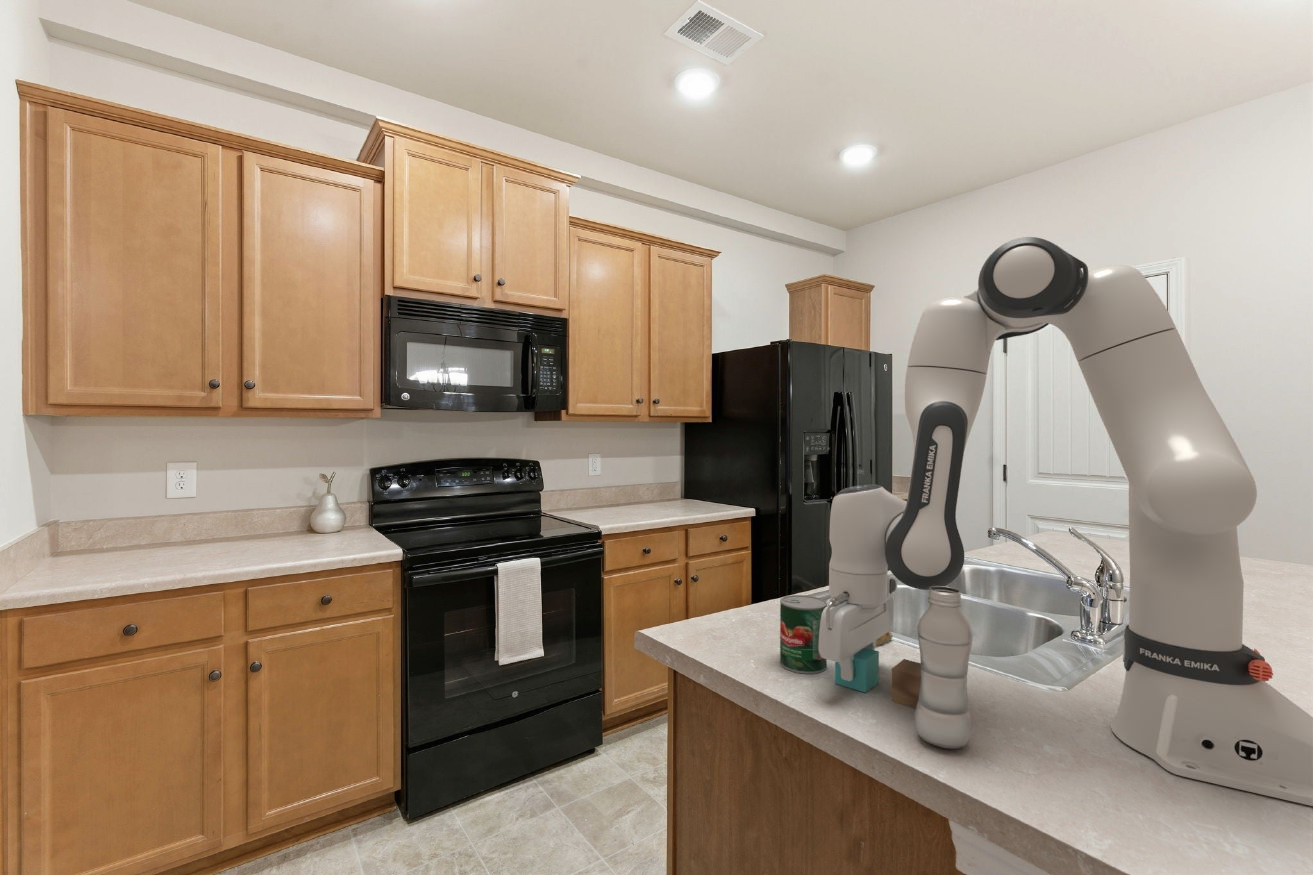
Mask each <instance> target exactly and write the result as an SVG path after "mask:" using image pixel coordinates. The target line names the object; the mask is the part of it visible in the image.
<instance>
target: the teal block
mask: <svg viewBox="0 0 1313 875" xmlns="http://www.w3.org/2000/svg"><path fill="white" fill-rule="evenodd" d="M879 654H880V652H879V651H878V650H871V649H867V648H863V649H861V650H860V651H858V652H857V653H855V654H854V659H853V660H852V663H853V667H854V668H856V673H855V674H856V677H855V678H854V679H853V680H852V681H847V680H843V679H842V678H841V667H840V665H839V662H835V661H834V662H835V663H834V683H835V684H837V685H840V686H843V687H846V688H848V689H851V690H852V689H853V690H856V691H859V692H862V693H867V692H868V691H870V690H872V689H873V687H875V686H876V685H877V684H879V682H880V681H879V678H880V677H879V673H880V672H879V668H880V665H879V664H880V663H879V662H880V659H879V658H880V657H879V656H880V655H879Z"/></svg>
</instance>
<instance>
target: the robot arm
mask: <svg viewBox="0 0 1313 875" xmlns="http://www.w3.org/2000/svg"><path fill="white" fill-rule="evenodd" d="M1088 268H1089V267H1088V265H1087V263H1086V262H1084V261H1083V260H1081V259H1079V258H1077V257H1076V256H1074V255H1072V254H1070V253H1069V252H1068V251H1066V250H1065V249H1064V248H1061V247H1060V246H1058V245H1057V244H1055V243H1054V242H1051V241H1050V240H1047V239H1044V238H1040V237H1036V236H1024V237H1019V238H1015V239H1012V240H1010V241H1008V242H1005V243H1003V244H1001V245H1000V246H999V247H998V248H997V249H995V250H994V251H993V252H992V253H991V254H990V255H989V256H988V257H987V259H986V260H985V261H984V263H983V265H982V267H981V268H980V272H979V275H978V283H977V286H978V288H977V290H974V291H973V292H972V293H971V294H968V295H964V296H948V297H944V298H940V299H937V300H935V301H933V302H931V303H929V304H928V305H927V306H926V307H925V309H924V310H923V312H922V314H921V316H920V318H919V322H918V324H917V327H916V330H915V331H914V332H915V333H914V336H913V339H912V341H911V342H912V343H911V346H910V351H909V356H908V360H907V366H906V372H905V380H904V408H905V414H906V417H907V420H908V423H909V427H910V430H911V434H912V440H913V460H912V465H911V466H912V467H911V470H910V471H911V472H910V473H911V474H910V477H909V478H910V479H909V480H910V481H909V485H908V493H907V497H906V498H907V500H905V499H901V497H899V496H896V495H895V494H892V493H891V492H890V491H888V490H886V489H885V488H884V487H883V486H882V485H879V484H874V483H873V484H872V483H871V484H859V485H854V486H849V487H846V488H843V489H841V490H840V491H839V492H837V493H836V495H835V496H834V497H833V499H832V503H831V508H830V513H829V514H830V515H829V536H828V537H829V543H830V547H831V557H830V560H829V562H828V563H829V564H828V567H829V568H828V569H829V571H828V574H829V575H828V595H829V597H830V598H831V599H829V604H828V605H827V607H826V608H825V609H824V610H823V612H822V615H821V621H820V631H819V646H818V649H819V653H820V656H821V657H822V658H824V659H827V661H831V662H839V665H840V667H841V678H842V679H843V680H847V681H852V680H853V679H854V678H855V677H856V674H855V673H856V668H854V667H853V663H852V660H853V659H854V654H855V653H857V652H858V651H860V650H861V649H863V648H867V649H871V650H875V649H876V647H877V646H876V640H877V639H878V638H880V637H881V636H883V635H884V634H886V633H887V632H889V631H890V632H891V629H892V626H893V623H894V612H895V594H894V593H895V592H896V591H897V589H898V581H899V582H900V583H902V584H904V585H906V586H908V587H910V588H912V589H916V590H922V591H929V587H931V586H946V587H947V586H948V585H950V583H952V582H954V580H956V578H957V577H958V576H959V575H960V574H961V572H962V570H963V567H964V564H965V550H964V549H965V548H964V544H963V541H962V539H961V538H962V537H961V535H960V532H959V529H958V525H957V518H956V515H957V504H958V498H959V491H960V482H961V475H962V468H963V460H964V454H965V450H966V445H967V443H968V439H969V436H970V434H971V431H972V429H973V425H974V422H975V420H976V416H977V415H978V411H979V409H980V406H981V402H982V398H983V395H984V391H985V387H986V380H987V375H988V369H989V364H990V359H991V358H990V357H991V353H992V352H991V351H992V349H993V347H994V343H995V342H996V341H999V340H1005V339H1009V338H1015V337H1021V336H1025V335H1029V334H1032V333H1036V332H1038V331H1040V330H1042V329H1044V328H1046V327H1047V326H1049V325H1052V326H1054V327H1056V328H1058V329H1059V330H1060V331H1061V332H1062V333H1063V335H1064V336H1065V338H1066V339H1067V340H1068V342H1069V344H1070V346H1071V348H1072V351H1073V354H1074V357H1075V359H1076V362H1077V364H1078V366H1079V369H1080V371H1081V373H1082V376H1083V378H1084V380H1085V382H1086V386H1087V388H1088V390H1089V393H1090V395H1091V397H1092V399H1093V402H1094V404H1095V407H1096V409H1097V412H1098V414H1099V416H1100V419H1101V422H1102V423H1103V426H1104V427H1105V429H1106V430H1105V431H1106V432H1107V434H1108V437H1109V439H1110V441H1111V444H1112V445H1113V448H1114V451H1115V452H1116V455H1117V457H1118V459H1119V461H1120V465H1121V466H1122V468H1123V471H1124V473H1125V476H1126V478H1127V481H1128V538H1129V539H1128V542H1129V544H1128V546H1129V548H1128V549H1129V589H1128V590H1129V592H1128V593H1129V596H1128V597H1129V598H1128V599H1129V600H1128V624H1127V625H1126V626H1125V628H1124V633H1123V636H1122V662H1123V667H1124V669H1125V675H1124V682H1123V686H1122V693H1121V696H1120V701H1119V705H1118V707H1117V711H1116V713H1115V715H1114V719H1113V721H1112V722H1111V725H1110V726H1111V730H1112V732H1113V733H1114V735H1115V736H1116V737H1117V738H1118V739H1119V740H1120V741H1122V742H1123V743H1124V744H1125V745H1127V746H1128V747H1131V748H1132V749H1134V750H1136V751H1138V752H1140V753H1141V754H1143V755H1145V756H1147V757H1149V758H1151V759H1152V760H1154V761H1155V762H1156V763H1157V764H1158V765H1159V766H1161V767H1162V768H1163V769H1165V770H1166V771H1168V772H1169V773H1171V774H1174V775H1177V776H1181V777H1185V778H1189V779H1193V780H1197V781H1200V782H1201V781H1202V782H1206V783H1210V784H1211V783H1212V784H1214V785H1219V786H1224V787H1227V788H1232V789H1237V790H1242V791H1246V792H1249V793H1250V792H1251V793H1254V794H1258V795H1263V796H1267V797H1271V798H1275V799H1281V800H1285V801H1289V802H1293V803H1298V804H1301V805H1307V806H1311V807H1313V716H1312V715H1311V714H1309V713H1308V712H1307V711H1305V710H1304V709H1303V708H1301V707H1300V706H1298V704H1296V703H1295V702H1293V701H1292V700H1290V699H1289V698H1288V697H1286V695H1284V694H1282V693H1281V692H1280V691H1279V690H1277V689H1276V688H1274V687H1273V686H1272V685H1271V684H1269V683H1268V681H1270V679H1273V676H1274V673H1273V672H1274V671H1273V669H1272V666H1271V665H1270V664H1269V663H1268V662H1267V661H1266V659H1265V657H1264V656H1263V655H1261V653H1260V652H1259V651H1258V650H1257V649H1256V648H1254V649H1252V648H1251V647H1248V646H1247V645H1245V644H1243V627H1244V626H1243V619H1244V586H1245V585H1244V583H1245V582H1244V578H1243V573H1242V566H1241V559H1240V558H1241V557H1240V548H1239V538H1238V527H1237V526H1239V525H1241V524H1242V523H1243V522H1245V520H1247V518H1248V517H1249V516H1250V515H1251V513H1252V512H1253V510H1254V508H1255V505H1256V501H1257V499H1258V498H1257V496H1258V495H1257V494H1258V493H1257V492H1258V491H1257V485H1256V481H1255V478H1254V477H1253V476H1254V475H1252V473H1251V470H1250V469H1249V466H1248V464H1247V463H1246V461H1245V459H1244V457H1243V455H1242V453H1241V451H1240V449H1239V448H1238V446H1237V444H1236V441H1235V439H1234V438H1233V436H1232V435H1231V432H1230V431H1229V429H1228V427H1227V425H1226V423H1225V422H1224V420H1223V418H1222V417H1221V415H1220V413H1219V411H1218V410H1217V408H1216V406H1215V404H1214V403H1213V401H1212V400H1211V398H1210V396H1209V394H1208V393H1207V391H1206V389H1205V387H1204V386H1203V383H1202V382H1201V379H1200V377H1199V375H1198V372H1197V370H1196V367H1195V366H1194V364H1193V362H1192V359H1191V357H1190V354H1189V353H1188V350H1187V348H1186V345H1185V344H1184V342H1183V340H1182V337H1181V334H1180V332H1179V331H1178V329H1177V327H1176V324H1175V322H1174V320H1173V318H1172V316H1171V314H1170V312H1169V311H1168V309H1167V308H1166V305H1165V304H1164V302H1163V301H1162V299H1161V298H1160V296H1159V294H1158V293H1157V291H1156V290H1155V289H1154V287H1153V286H1152V285H1151V283H1150V282H1149V280H1147V278H1146V277H1145V276H1144V274H1142V272H1140V271H1139V269H1136V268H1135V267H1132V266H1129V265H1123V264H1116V265H1115V264H1113V265H1107V266H1106V265H1105V266H1102V267H1098V268H1096V269H1093V270H1090V271H1089V269H1088ZM888 569H889V571H890V573H891V574H892V575H893V576H894V577H893V576H890V575H888V574H889V573H888ZM875 651H876V650H875Z"/></svg>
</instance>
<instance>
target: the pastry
mask: <svg viewBox="0 0 1313 875" xmlns="http://www.w3.org/2000/svg"><path fill="white" fill-rule="evenodd" d="M892 639H893V634H892V632H891V630H890V631H889V632H887V633H886V634H884V635H883V636H881V637H880V638H878V639H877V640H876V647H880V646H882V645H884V644H887V643H889V642H890V641H891V640H892Z"/></svg>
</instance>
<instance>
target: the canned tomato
mask: <svg viewBox="0 0 1313 875" xmlns="http://www.w3.org/2000/svg"><path fill="white" fill-rule="evenodd" d="M779 601H780V604H779V605H780V608H779V609H780V610H779V611H780V613H779V614H780V615H779V619H780V620H779V621H780V622H779V626H780V629H779V630H780V633H779V635H780V636H779V638H780V640H779V643H780V645H779V650H780V651H779V657H780V659H779V664H780V666H781V667H782V668H784V669H785V670H786V671H787V670H788V671H789V670H790V671H789V672H793V673H797V674H804V675H815V674H820V673H824V672H825V671H826V670H827V668H828V665H827V662H828V660H827V659H824V658H822V657H821V656H820V653H819V649H818V646H819V631H820V621H821V615H822V612H823V610H824V609H825V608H826V607H827V606H828V602H827V601H826V600H824V598H823V599H822V598H820V597H817V596H812V595H804V594H792V595H791V594H790V595H785V596H782V597H781V598H780V600H779Z"/></svg>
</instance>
